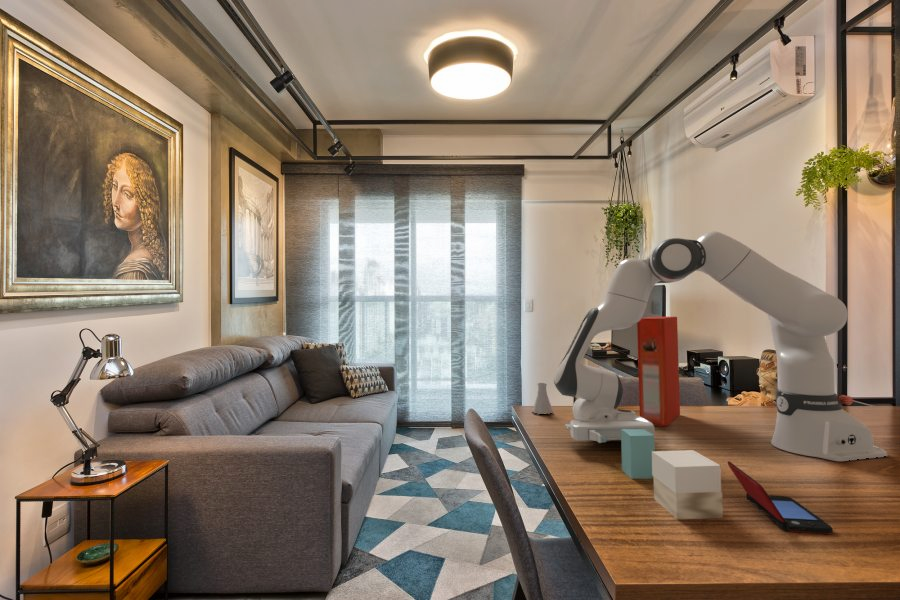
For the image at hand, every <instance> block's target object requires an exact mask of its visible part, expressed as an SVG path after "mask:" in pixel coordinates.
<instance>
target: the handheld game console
mask: <svg viewBox="0 0 900 600" xmlns="http://www.w3.org/2000/svg"><path fill="white" fill-rule="evenodd" d="M727 465H728V467H729V468H730V470H731V471H732V473H733V475H734V476H735V477H736V479H737V481H738V482H739V484H740V485H741V487H742V488H743V490H744V492H745V493H746V497H745V498H746V500H747V501H748V500H749V501H748V502H750V503H751V504H752V505H754V506H755V507H756V508H757V509H758V510H759V511H761V510H762V511H761V512H763V513H765V514H766V515H767V517H768V518H770V520H771V521H772V522H773V523H774V524H775V525H776V526H777V527H778V528H779V529H780V528H781V529H780V530H782V531H783V532H785V533H787V532H791V533H793V532H795V533H805V534H806V533H807V534H809V533H810V534H821V533H822V535H823V534H825V535H829V534H830V535H831V534H832V533H833V530H834V529H833V527H832V526H831V525H830V524H829V523H827V522H826V521H824V520H823V519H822V518H820V517H819V516H817V515H816V514H815V513H814V512H812V511H811V510H809V509H808V508H807V507H805V506H804V505H802V504H801V503H799V502H798V501H796V499H794V498H792V497H791V496H786V495H773V494H772V495H771V494H768V493H767V491H766V490H765V489H764V487H763V486H762V485H761V484H760V483H758V482H757V480H755V479H753V478H752V477H751V476H749V475H748V474H747V473H746V472H744V471H743V470H742V469H740V468H739V467H738V466H737V465H735V464H733V463H732V461H727Z"/></svg>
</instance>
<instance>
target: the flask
mask: <svg viewBox="0 0 900 600" xmlns="http://www.w3.org/2000/svg"><path fill="white" fill-rule="evenodd" d="M536 384H537V394H536V395H537V396H536V398H535V401H534V404H533V407H535V408H533V407H532V411H533V412H534V413H542V414H544V413H552V412H554V410H553V406H552V405H551V402H550V398H549V396H548V392H547V385H548V384H547V382H537V383H536ZM532 411H531V412H532ZM534 413H533V414H534ZM552 414H553V413H552Z"/></svg>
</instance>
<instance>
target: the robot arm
mask: <svg viewBox="0 0 900 600" xmlns="http://www.w3.org/2000/svg"><path fill="white" fill-rule="evenodd" d="M695 271H697V272H701V273H704V274H705V275H708V276H709V277H710V278H712V279H713V280H714V281H716V282H717V283H719V284H720V285H722V286H723V287H724V288H726V289H727V290H728V291H730V292H732V293H733V294H734V295H736V296H737V297H738V298H740V299H741V300H743V301H744V302H746V303H748V304H749V305H752V306H753V307H755V308H757V309H758V310H760V311H762V312H764V313H765V314H767V318H768V320H769V321H770V322H769V323H770V328H771V329H770V330H771V335H772V341H773V344H774V348H775V355H776V367H777V368H776V369H777V370H776V371H777V388H776V389H775V403H776V404H775V406H776V410H777V412H776V422H775V426H774V427H775V428H774V433H773V436H772V438H771V440H770V443H771V445H772V446H774V447H775V448H778V449H780V450H783V451H785V452H789V453H793V454H797V455H801V456H808V457H815V458H821V459H825V460H827V461H828V460H829V461H835V462H846V461H847V462H849V460H850V461H858V460H857V459H859V460H865V459H866V458H869V459H875V458H876V457H878V458H884V456H886V457H888V452H887V451H886V449H883V448H881V447H880V446H877V445H874V439H873V434H872V432H871V430H870V428H869V427H868V426H867V424H865V423H863V422H861V421H860V420H859V419H858V418H855V417H854V416H853V415H851V414H850V413H849V412H848V411H846V410H844V408H843V405H842V404H845V405H848V406H850V405H852V404H853V403H854V399H853V398H852V396H850V395H849V396H848V395H844V394H841V395H838V394H837V393H836V391H835V389H836V388H835V361H834V359H833V357H832V355H831V353H830V351H829V347H828V345H827V344H828V343H827V340H826V337H827V336H830V335H832V334H835V333H836V332H837V333H838V332H839V331H840V330H841V329H842V328H844V326H845V325H846V323H847V321H848V315H849V313H848V309H847V306H846V305H845V303H844V302H843V301H842V300H840V298H838V297H837V296H834V295H832V294H830V293H828V292H826V291H824V290H822V289H821V288H819V287H817V286H816V285H813V284H811V283H810V282H807V281H806V280H804V279H802V278H800V277H798V276H797V275H794V274H792V273H790V272H788V271H786V270H784V269H782V268H781V267H779V266H777V265H776V264H774V263H773V262H771V261H770V260H768V259H767V258H766V257H764V256H762V255H761V254H759V252H756V251H755V250H753V249H752V248H750V247H749V246H747V245H746V244H744V243H742V242H740V241H738V240H737V239H736V238H735V239H734V238H733V237H731V236H729V235H726V234H725V233H722V232H719V231H713V230H712V231H708V232H706V233H704V234H702V235H700V236H699V237H698V238H696V239H688V238H687V239H686V238H679V237H674V238H667V239H664V240H663V241H662V242H659V243H658V245H656V246H655V247H654V248H653V249H652V250H651V252H650V254H649V256H647V257H646V258H644V259H640V258H634V257H633V258H632V257H631V258H626V259H623V260H622V261H620V262H619V263H618V265H617V267H616V269H615V270H614V273H613V274H612V277H611V279H610V282H609V284H608V287H607V290H606V293H605V296H604V297H603V298H604V299H603V300H602V301H601V303H600V304H599V305H597V306H596V307H594V308H591V309H590V310H588V312H587V313H586V314H585V316H584V317H583V320H581V321H582V322H581V323H580V326H579V327H578V328H577V330H576V331H577V332H576V333H575V335H574V337H573V339H572V341H571V343H570V345H569V347H568V349H567V351H566V354H565V355H564V357H563V358H562V359H561V361H560V363H559V364H558V367H557V368H556V370H555V372H554V377H553V384H554V387H555V388H556V389H557V391H558V392H559V393H560V394H561V396H565V397H572V398H577V399H576V400H575V401H574V402H573V405H572V413H573V414H572V415H573V418H574V419H571V420H570V421H569V423H565V424H564V427H565V429H566V430H569V432H570V433H569V434H570V436H571V439H573V440H574V441H577V442H582V441H583V442H584V441H587V442H589V441H591V442H594V441H595V442H597V443H598V444H605V443H606V442H610V441H621V429H645V430H646V431H648V432H650V433H651V434H653V435H654V437H655V434H656V432H655V425H653V424H652V423H651V422H650V421H648V420H646V419H645V418H643V417H641V416H640V415H637V413H636V412H635V411H634V410H628V409H618V407H619V406H620V403H621V401H622V399H623V391H624V388H623V387H624V386H623V383H622V381H621V378H620V376H619V375H618V373H617V372H615V371H612V370H608V369H605V368H604V369H603V368H601V367H595V366H592V365H588V364H585V363H582V361H583V359H584V357H585V355H586V353H587V352H588V349H589V347H590V346H591V343H592V342H593V339H594V337H596V336H597V335H598V334H600V333H604V332H607V331H617V330H624V329H629V328H631V327H633V326H635V325H637V323H638V322H639V321H640V320H641V319H642V318H644V317H643V316H644V314H645V312H646V309H647V306H648V302H649V298H650V295H651V293H652V290H653V289H654V286H656V284H670V283H675V282H679V281H680V282H681V280H684V279H685V278H687V277H688V276H690V275H691V274H693V273H694V272H695ZM876 459H877V458H876ZM866 460H867V459H866Z"/></svg>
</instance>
